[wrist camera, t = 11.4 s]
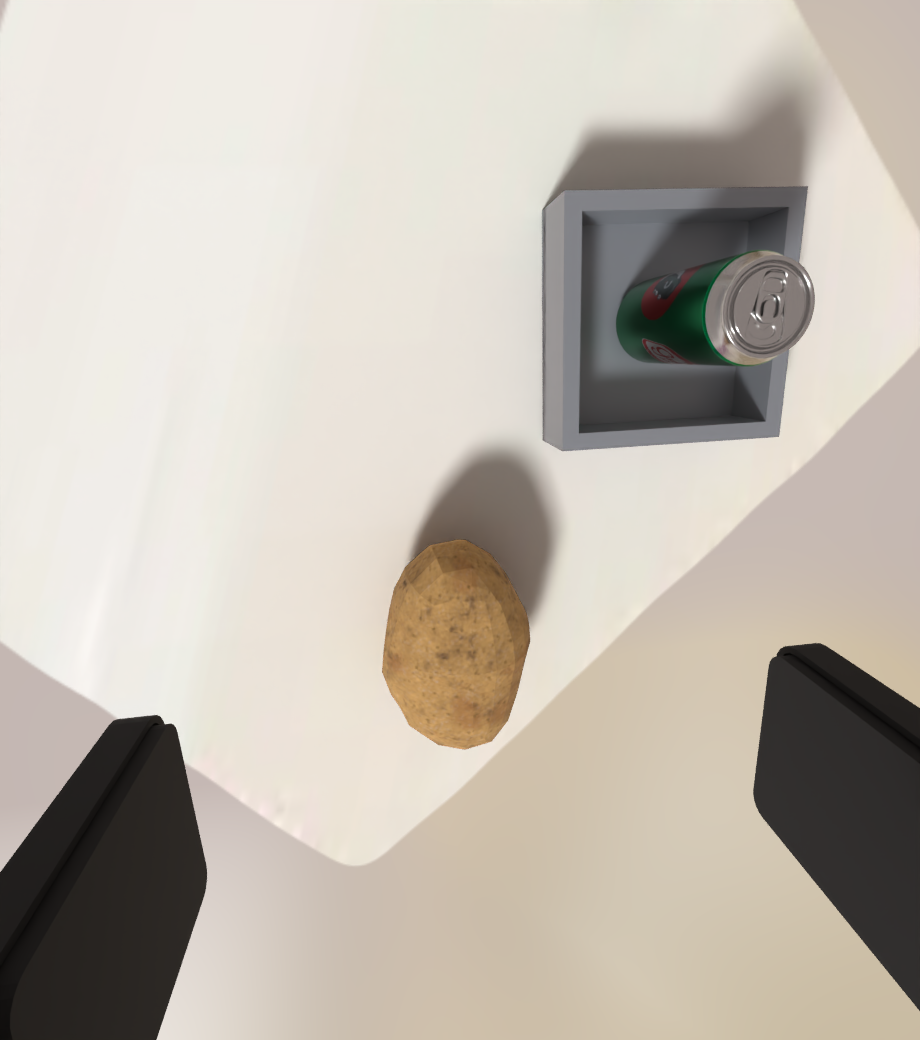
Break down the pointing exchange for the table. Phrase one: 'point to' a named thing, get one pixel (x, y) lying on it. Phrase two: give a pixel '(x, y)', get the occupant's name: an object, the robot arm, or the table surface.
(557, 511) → the table surface
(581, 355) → the bin
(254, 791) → the table surface
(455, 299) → the table surface
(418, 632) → the potato
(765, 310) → the soda can
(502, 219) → the table surface
